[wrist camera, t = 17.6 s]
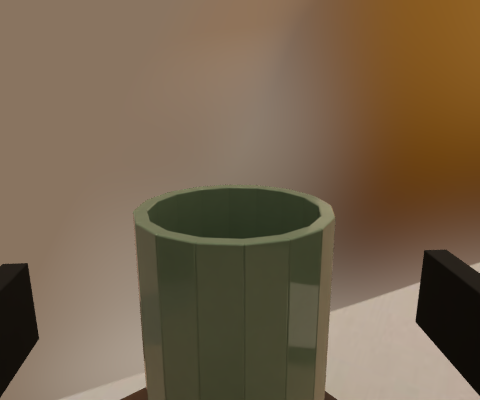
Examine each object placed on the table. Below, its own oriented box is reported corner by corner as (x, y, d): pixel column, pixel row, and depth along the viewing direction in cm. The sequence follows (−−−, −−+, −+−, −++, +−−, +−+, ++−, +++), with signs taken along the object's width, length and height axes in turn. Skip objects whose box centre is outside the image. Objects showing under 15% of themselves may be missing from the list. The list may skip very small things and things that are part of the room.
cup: (122, 425, 18) (101, 204, 16) (246, 360, 23) (246, 177, 20) (217, 562, 13) (210, 265, 10) (355, 444, 17) (376, 211, 15)
